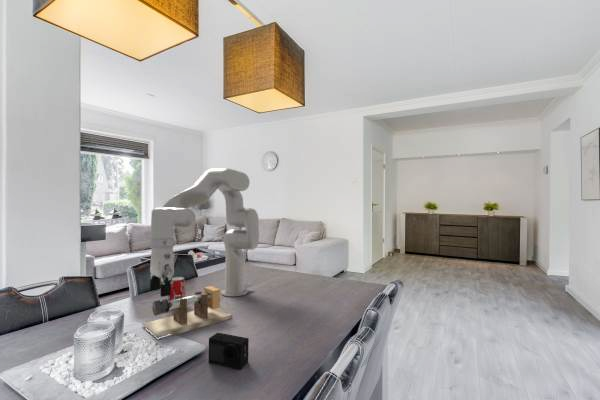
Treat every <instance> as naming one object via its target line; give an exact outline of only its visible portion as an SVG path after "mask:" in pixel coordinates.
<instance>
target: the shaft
mask: <svg viewBox="0 0 600 400" xmlns="http://www.w3.org/2000/svg"><path fill="white" fill-rule="evenodd" d="M203 294H205V293H204V292H203ZM206 294H207V301H209V300H211V294H210V293H206ZM185 298H187V306H191V305H194V304H196V303H200V302H201V294H199V295H189V296H185ZM180 299H182V298H180ZM180 299H175V300H171V301H168V298H163V299H158V300H154V301H153V302H152V304H151V306H152V307H151V309H152V313H153V315H154V316H155V317H156V316H161V315H164V314H168V313H169V312H170V310H174V308H179V307H180Z"/></svg>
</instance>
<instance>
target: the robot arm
mask: <svg viewBox="0 0 600 400" xmlns="http://www.w3.org/2000/svg"><path fill="white" fill-rule="evenodd" d="M250 184H251V183H250V178H249V176H248V174H246V173H244V172H243V171H239V170H235V169H233V168H226V167H225V168H210V169H208V170H206V171H205V172H204V173H203V174H202V175H201V176H200V177H199V178H198V179H197V180H196V181H195V183H193V184H192V186H191V187H189V188H186V189H185V190H183V191H181V192H180V193H177V194H175V195H174V196H172V197H170V198H169V199H168V200H167V201H166V202H165V203H164V204H163V205H162V206H161V207H155V208H153V209H152V210H151V216H150V217H151V218H150V221H151V222H150V237H149V238H150V239H149V240H150V241H149V249H151V254H150V262H149V263H150V264H149V266H150V267H149V273H150V278H149V279H150V280H149V281H150V282H149V291H157V290H158V291H160V297H161V298H163V297H168V296H169V295H171V283H172V278H173V277H174V275H175V256H174V255H175V254H174V253H175V252H174V246H175V245H174V244H175V243H174V242H175V229H176V228H177V229H187V228H190V227H192V226H193V225H194V224H195V223H196V220H197V218H196V213H195V212H194V210H192V209H190V208H192V207H196V206H200V205H203V204H205V203H207V202H208V201H209V200H210V198H211V197H212V196H213V195H214V193H216V191H218V190H219V192H221V194H222V195H223V197H224V200H225V201H224V202H225V217H226V224H227V225H228V226H230V227H233V228H235V229H229V230H227V231H226V232H225V233H224V236H223V244H224V250H225V252H224V254H225V263H224V264H225V266H224V267H225V268H224V269H225V271H224V289H222V290H220V295H222V296H225V297H242V296H245V295H247V293H248V288H251V287H253V282H248V283H247V282H245V274H246V272H245V271H246V270H245V269H246V256H245V252H244V251H243V250H249V251H250V250H251V251H252V250H255V249H257V247H259V242H260V231H259V230H260V229H259V228H260V227H259V223H260V222H259V215H258V212H257V210H256V209H254V208H251V207H244V197H243V195H242V193H241V192H245V191H246V190H248V188H249V186H250ZM237 228H245V229H237Z"/></svg>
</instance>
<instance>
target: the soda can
mask: <svg viewBox="0 0 600 400" xmlns="http://www.w3.org/2000/svg"><path fill="white" fill-rule="evenodd" d="M177 295H181V298H185V297H186V280H185V277H183V276H172V283H171V295H169V296H167V300H168V301H171V300H175V296H177Z"/></svg>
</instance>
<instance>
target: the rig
mask: <svg viewBox="0 0 600 400" xmlns="http://www.w3.org/2000/svg"><path fill="white" fill-rule="evenodd" d="M202 292H203V291H201V290H197V291H195V293H194V294H195V295H199V294H201V302H200V303H196V304H193V308H194V309H193V310H191V311H188V309H187V307H188V305H187V298H182V299H180V298H181V295H177V296H175V299H180V307H179V308H174V309H173V315H172V316H167V317H163V318H159V319H155V320H152V321H148V322H147V321H146V322H142V326H143V325H144V326H145V327H146V328H147V329H148V330H150V331H151V332H152V333H153V334H154V335H155V336H156V337H157V338H159V337H162V336H166V335H168V334H171V335H172V336H174V335H175V336H177V335H178V334H182V333H185V332H189V331H192V330H195V329H200V328H203V327H206V326H210V325H212V324H215V323H219V322H222V321H223V322H224V321H227V320H230V319H233V314H231V313H229V312H228V311H225V310H223V309H222V308H216V309H211V308H209V307H208V304H207V294H206V293H205V294H204V293H202Z"/></svg>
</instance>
